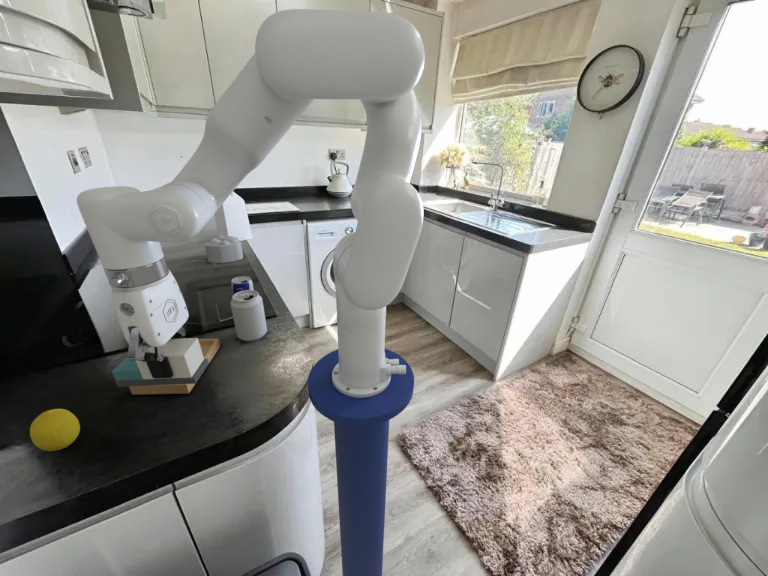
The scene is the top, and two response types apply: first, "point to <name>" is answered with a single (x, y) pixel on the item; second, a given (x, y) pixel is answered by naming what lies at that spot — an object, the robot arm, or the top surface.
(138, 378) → the sneaker
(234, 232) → the milk
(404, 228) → the robot arm
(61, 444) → the lemon
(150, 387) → the wooden tray
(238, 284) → the energy drink
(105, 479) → the top surface
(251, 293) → the can
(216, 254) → the lumpy-topped squat cylinder
